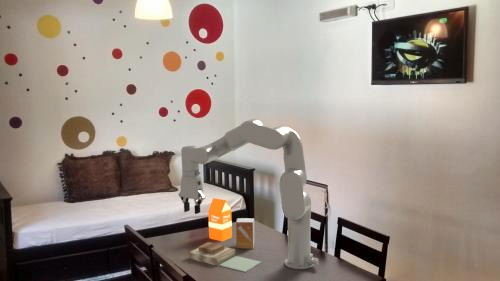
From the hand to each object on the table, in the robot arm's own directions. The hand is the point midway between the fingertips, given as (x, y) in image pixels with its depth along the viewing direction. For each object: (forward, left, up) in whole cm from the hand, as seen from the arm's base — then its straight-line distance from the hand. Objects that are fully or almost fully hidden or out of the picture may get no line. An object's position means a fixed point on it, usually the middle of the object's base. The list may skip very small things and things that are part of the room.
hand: (192, 211), depth 215 cm
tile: (-11, 0, -16) cm, 19 cm away
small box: (-16, -19, -20) cm, 32 cm away
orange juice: (+2, -23, -20) cm, 30 cm away
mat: (-26, 0, -20) cm, 33 cm away
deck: (-11, 0, -20) cm, 22 cm away
